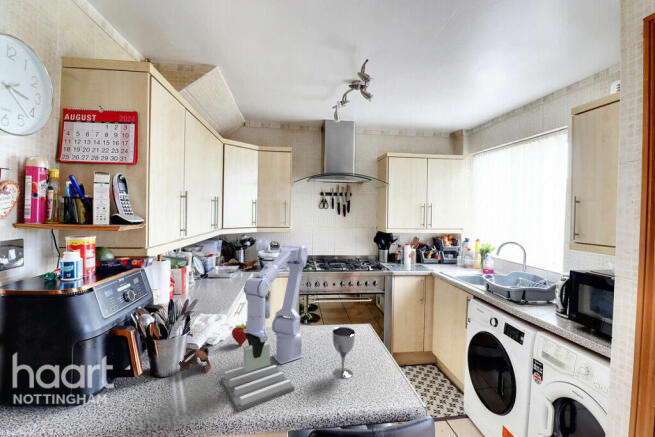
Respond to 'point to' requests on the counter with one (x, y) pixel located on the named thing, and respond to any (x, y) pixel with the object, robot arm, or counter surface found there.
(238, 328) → the strawberry
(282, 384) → the rack
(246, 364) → the mint green upright block
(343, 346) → the wine glass
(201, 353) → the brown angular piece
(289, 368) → the counter surface
